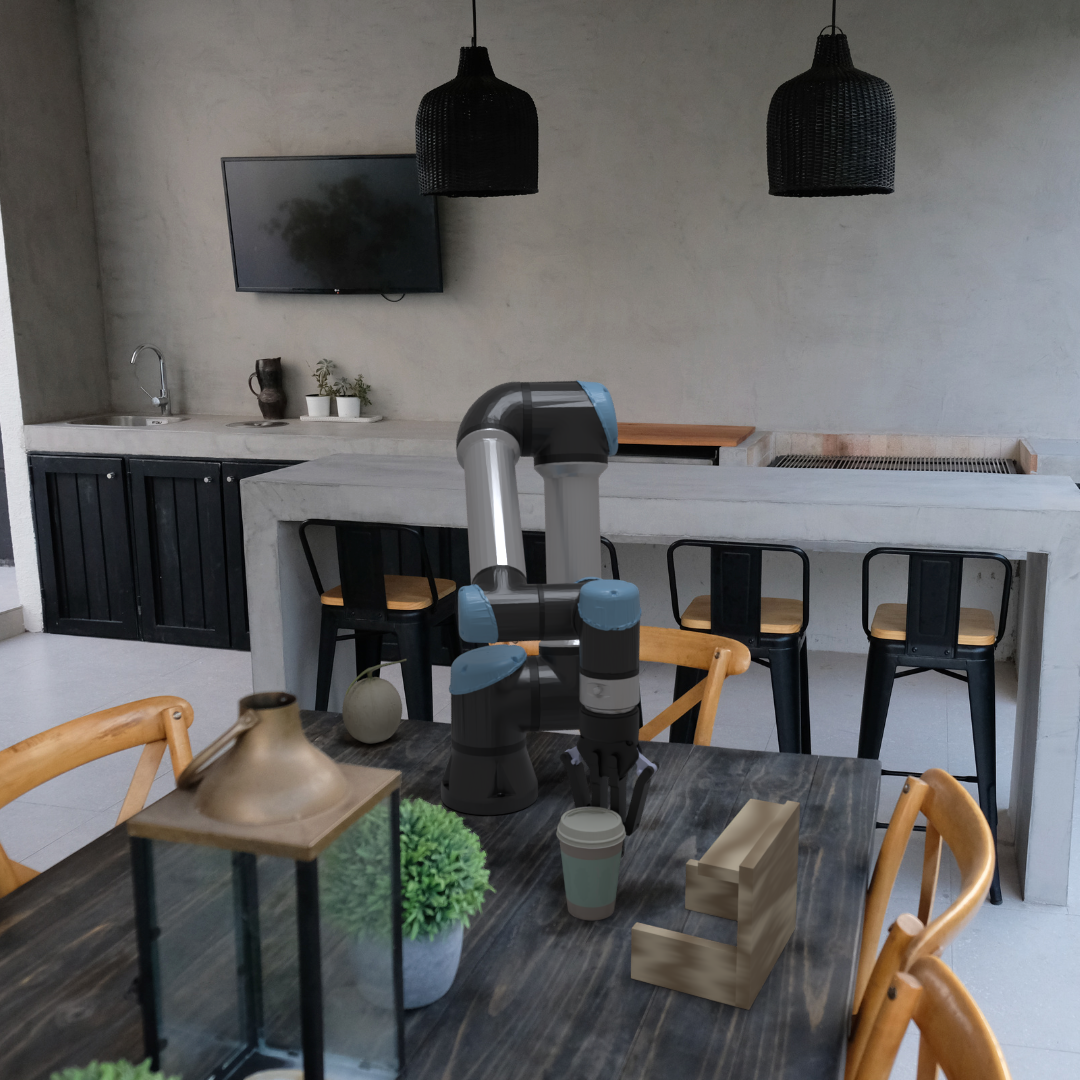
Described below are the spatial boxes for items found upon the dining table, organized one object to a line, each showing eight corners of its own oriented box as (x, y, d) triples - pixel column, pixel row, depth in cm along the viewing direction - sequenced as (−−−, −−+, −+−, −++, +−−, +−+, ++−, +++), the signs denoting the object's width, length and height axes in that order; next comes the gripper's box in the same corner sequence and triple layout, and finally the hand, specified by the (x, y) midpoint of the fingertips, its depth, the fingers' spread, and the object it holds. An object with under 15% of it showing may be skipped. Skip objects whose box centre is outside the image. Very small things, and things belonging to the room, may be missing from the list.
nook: (630, 978, 125) (632, 843, 123) (689, 903, 142) (691, 783, 139) (749, 1010, 119) (753, 868, 116) (795, 928, 136) (800, 802, 133)
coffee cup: (632, 898, 143) (633, 809, 141) (615, 931, 135) (616, 837, 133) (567, 888, 146) (567, 801, 144) (547, 920, 138) (547, 828, 136)
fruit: (327, 743, 199) (324, 662, 197) (376, 727, 208) (373, 648, 206) (366, 757, 193) (363, 673, 190) (415, 739, 201) (413, 658, 199)
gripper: (549, 706, 141) (550, 882, 145) (646, 720, 135) (645, 904, 139) (574, 689, 147) (575, 858, 151) (668, 703, 141) (666, 878, 145)
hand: (608, 880), depth 145 cm, fingers closed
